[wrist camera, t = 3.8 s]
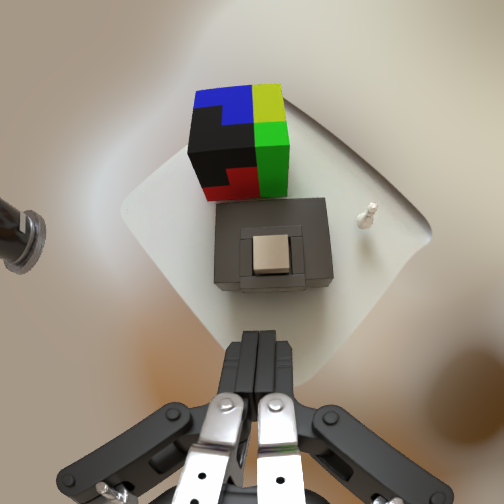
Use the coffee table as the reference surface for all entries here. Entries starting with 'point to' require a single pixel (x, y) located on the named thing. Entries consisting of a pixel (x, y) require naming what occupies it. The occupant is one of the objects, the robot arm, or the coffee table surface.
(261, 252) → the beige push button
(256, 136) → the puzzle toy
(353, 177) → the coffee table surface
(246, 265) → the dark grey block
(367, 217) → the chess pawn
